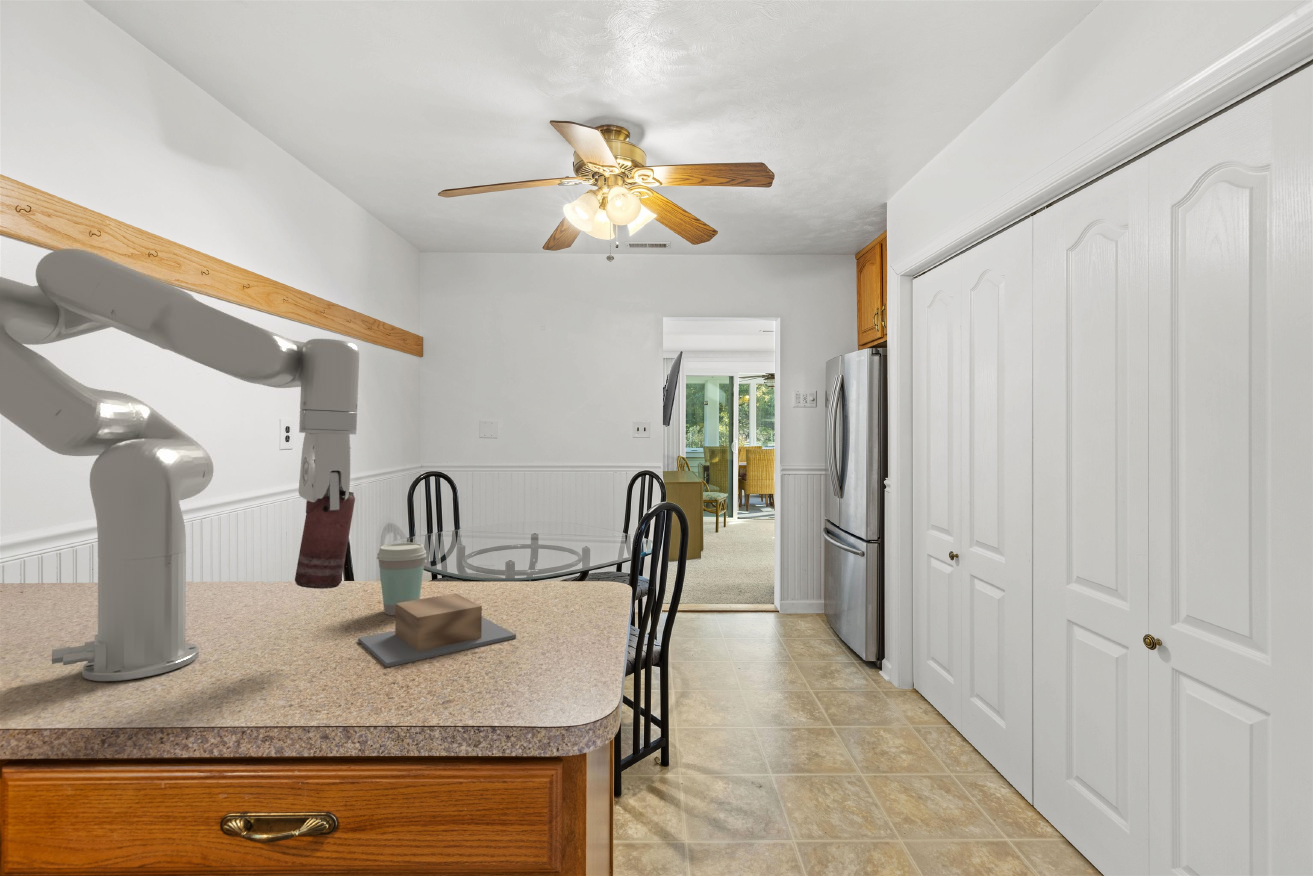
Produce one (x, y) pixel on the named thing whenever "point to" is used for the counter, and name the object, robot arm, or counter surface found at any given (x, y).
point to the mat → (399, 652)
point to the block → (438, 621)
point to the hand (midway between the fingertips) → (323, 547)
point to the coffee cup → (400, 573)
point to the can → (324, 544)
